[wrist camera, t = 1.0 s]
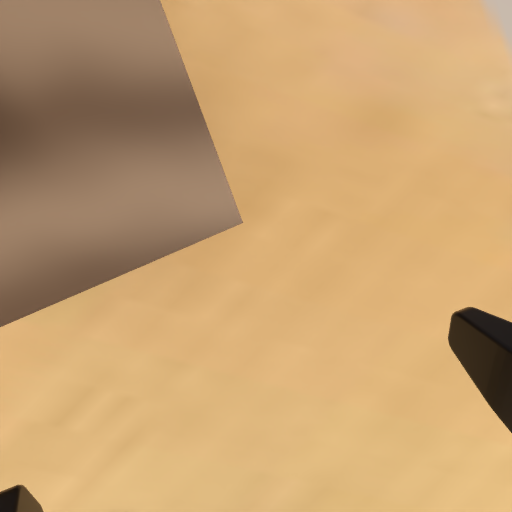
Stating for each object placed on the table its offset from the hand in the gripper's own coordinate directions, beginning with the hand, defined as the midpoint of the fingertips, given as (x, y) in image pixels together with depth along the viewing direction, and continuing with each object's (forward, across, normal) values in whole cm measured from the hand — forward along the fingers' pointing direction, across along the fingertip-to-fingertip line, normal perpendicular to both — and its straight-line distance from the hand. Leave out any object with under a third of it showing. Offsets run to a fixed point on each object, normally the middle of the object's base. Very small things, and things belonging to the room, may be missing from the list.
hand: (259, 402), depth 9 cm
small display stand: (+15, +3, -1) cm, 16 cm away
